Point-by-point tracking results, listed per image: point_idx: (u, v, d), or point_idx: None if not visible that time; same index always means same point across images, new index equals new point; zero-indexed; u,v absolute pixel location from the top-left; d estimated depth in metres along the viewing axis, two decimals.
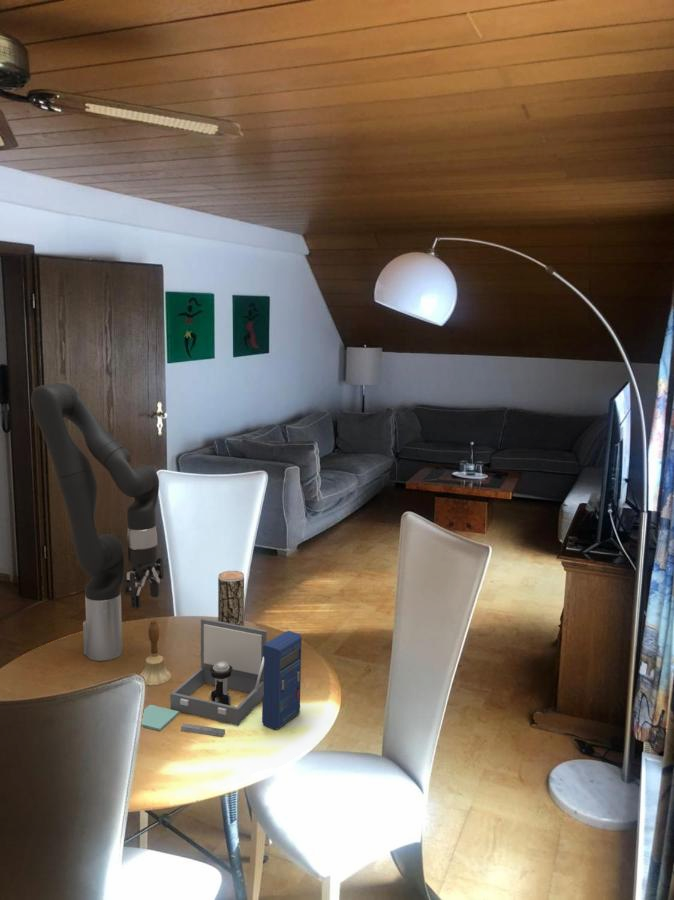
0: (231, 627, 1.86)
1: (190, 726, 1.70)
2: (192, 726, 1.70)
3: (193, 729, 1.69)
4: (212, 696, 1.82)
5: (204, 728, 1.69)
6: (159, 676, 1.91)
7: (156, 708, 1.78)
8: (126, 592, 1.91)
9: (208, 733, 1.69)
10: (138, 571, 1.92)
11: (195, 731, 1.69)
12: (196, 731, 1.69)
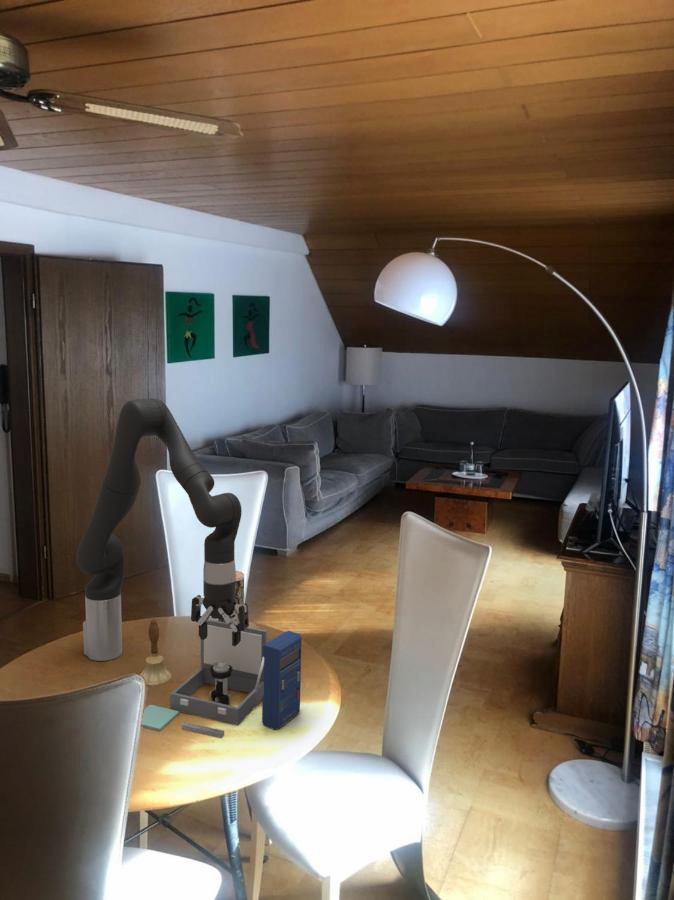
0: None
1: (190, 725, 1.70)
2: (193, 725, 1.70)
3: (194, 729, 1.69)
4: (212, 696, 1.82)
5: (204, 728, 1.69)
6: (159, 676, 1.91)
7: (156, 708, 1.78)
8: (244, 627, 1.76)
9: (207, 733, 1.68)
10: None
11: (195, 731, 1.69)
12: (196, 731, 1.69)
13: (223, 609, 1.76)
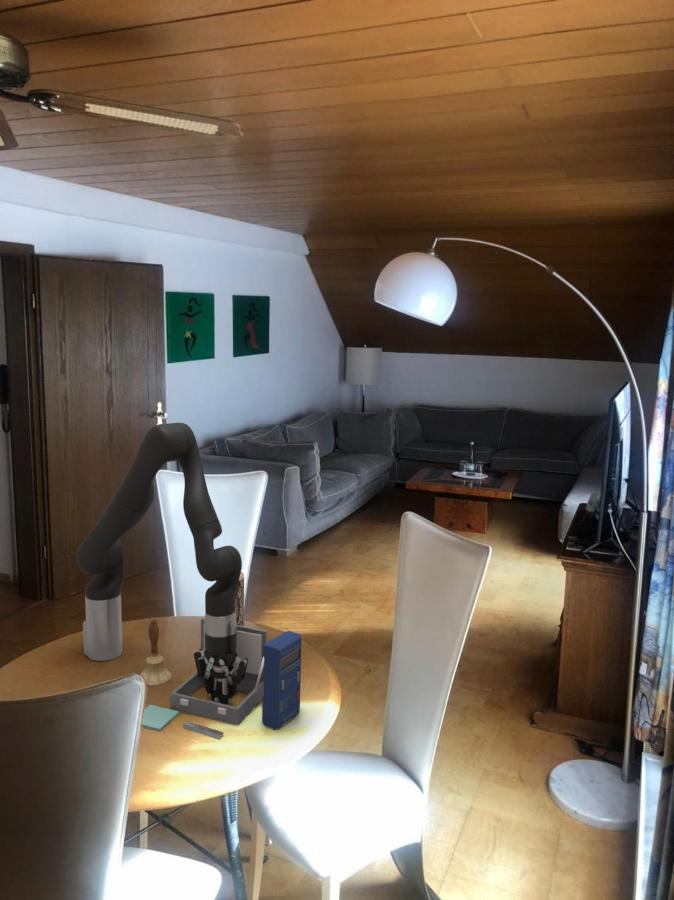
0: None
1: (191, 724, 1.71)
2: (193, 725, 1.70)
3: (194, 728, 1.70)
4: (212, 696, 1.82)
5: (204, 728, 1.69)
6: (159, 676, 1.91)
7: (156, 708, 1.78)
8: (240, 680, 1.79)
9: (207, 734, 1.68)
10: None
11: (195, 730, 1.69)
12: (196, 730, 1.69)
13: (224, 660, 1.78)
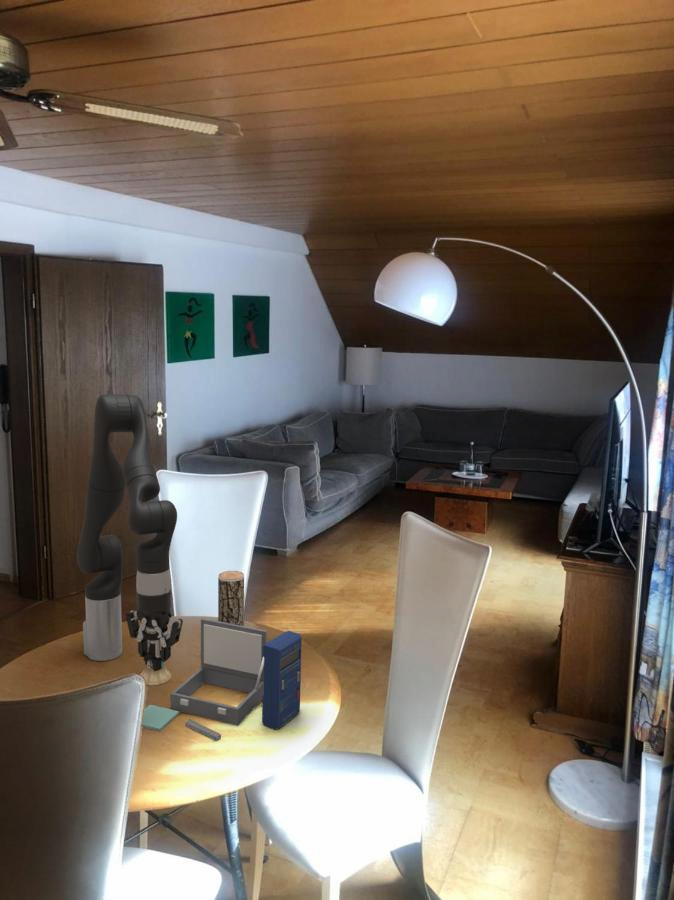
0: (231, 627, 1.86)
1: (193, 723, 1.71)
2: (195, 724, 1.71)
3: (194, 727, 1.70)
4: (145, 659, 1.72)
5: (203, 728, 1.69)
6: (159, 676, 1.91)
7: (156, 708, 1.78)
8: (174, 643, 1.68)
9: (205, 734, 1.68)
10: None
11: (196, 729, 1.70)
12: (196, 729, 1.70)
13: (157, 621, 1.68)
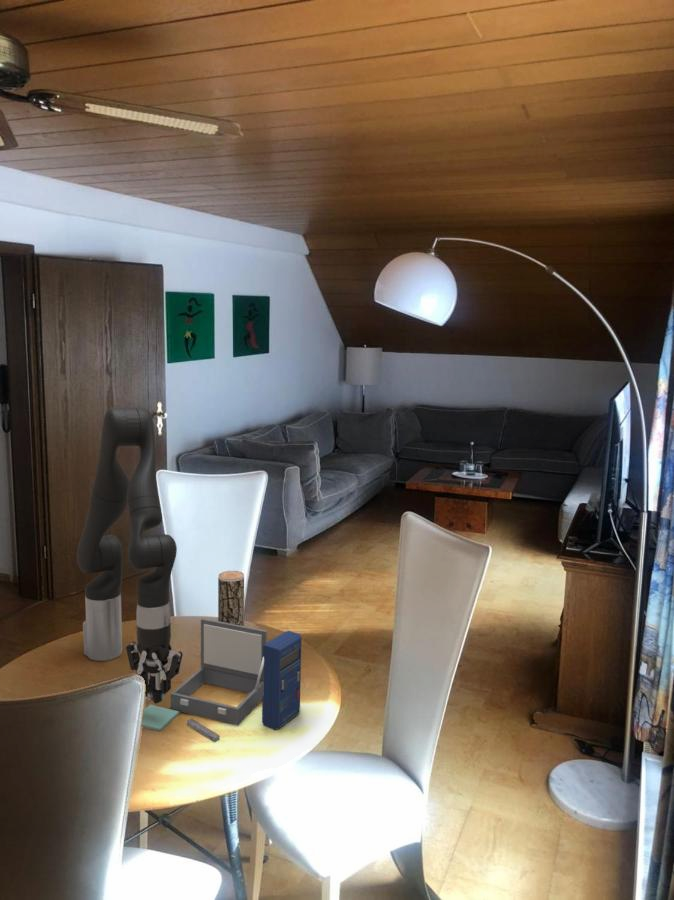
0: (231, 627, 1.86)
1: (194, 722, 1.71)
2: (195, 723, 1.71)
3: (195, 727, 1.70)
4: None
5: (203, 728, 1.69)
6: None
7: (156, 708, 1.78)
8: (174, 675, 1.70)
9: (204, 734, 1.68)
10: None
11: (196, 729, 1.70)
12: (196, 729, 1.70)
13: (157, 654, 1.69)
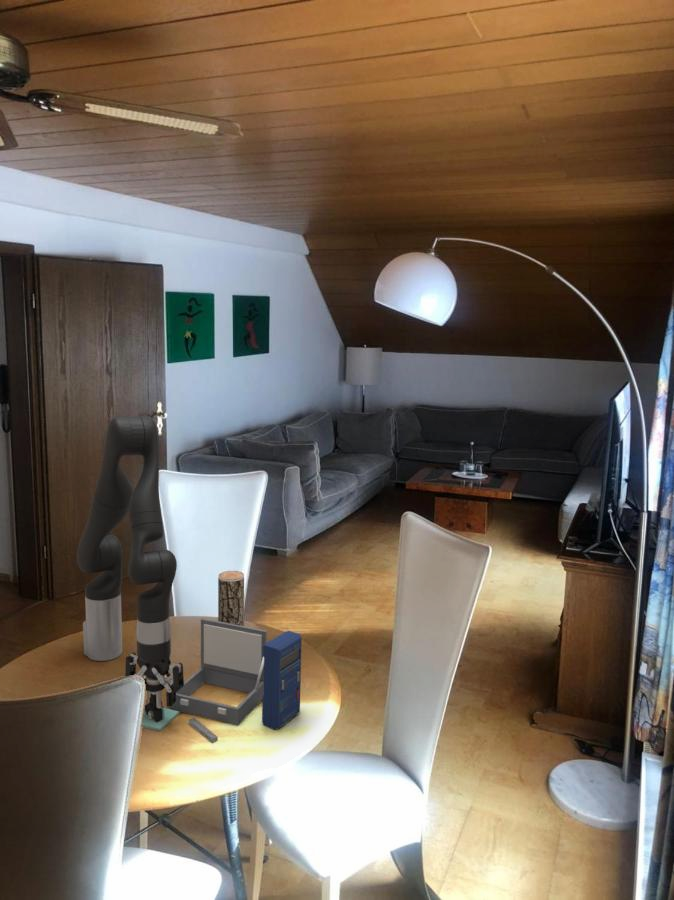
0: (231, 627, 1.86)
1: (195, 722, 1.72)
2: (197, 723, 1.71)
3: (195, 726, 1.70)
4: (146, 710, 1.74)
5: (203, 728, 1.69)
6: None
7: None
8: (179, 687, 1.70)
9: (204, 735, 1.68)
10: None
11: (196, 728, 1.70)
12: (197, 729, 1.70)
13: (157, 669, 1.70)
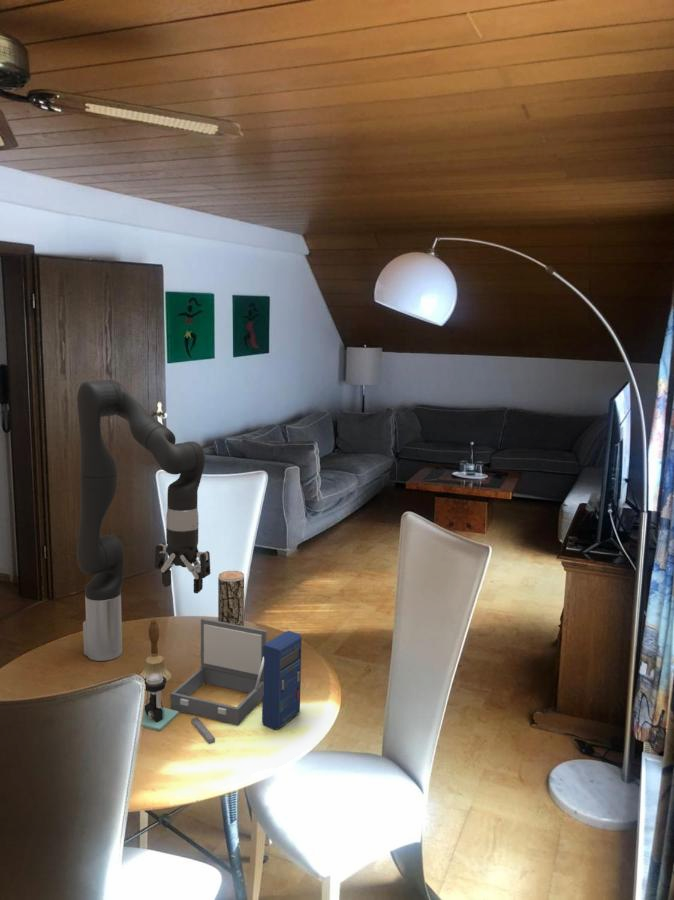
0: (231, 627, 1.86)
1: (197, 721, 1.72)
2: (198, 722, 1.71)
3: (196, 726, 1.71)
4: (146, 710, 1.74)
5: (203, 728, 1.69)
6: None
7: None
8: (206, 574, 1.78)
9: (202, 735, 1.68)
10: None
11: (197, 728, 1.70)
12: (197, 728, 1.70)
13: (185, 556, 1.78)
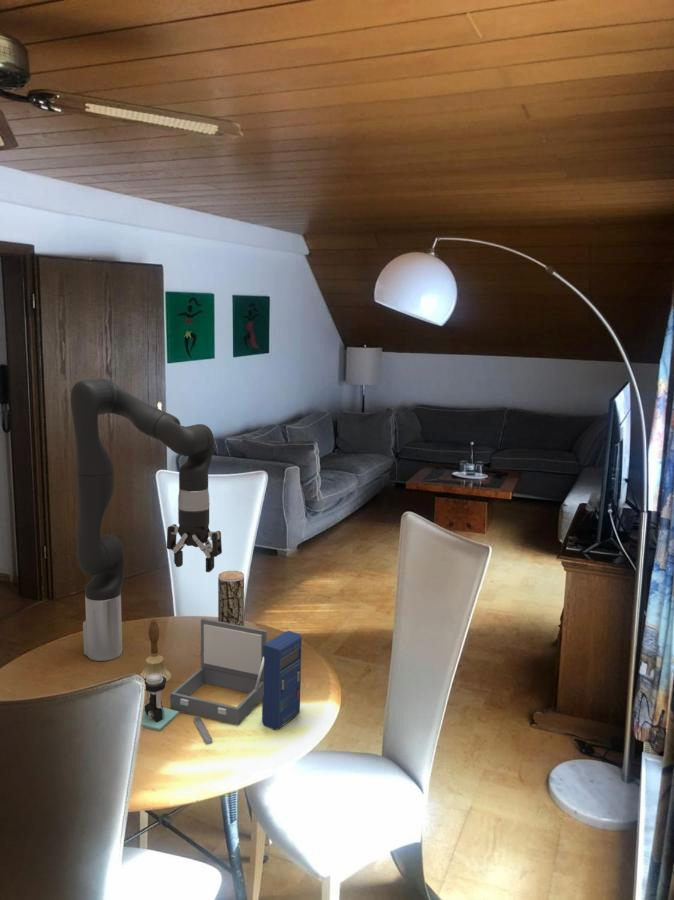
0: (231, 627, 1.86)
1: (199, 721, 1.72)
2: (199, 722, 1.72)
3: (197, 725, 1.71)
4: (146, 710, 1.74)
5: (202, 729, 1.69)
6: None
7: None
8: (217, 553, 1.83)
9: (201, 735, 1.68)
10: None
11: (198, 728, 1.71)
12: (198, 728, 1.70)
13: (197, 536, 1.83)
